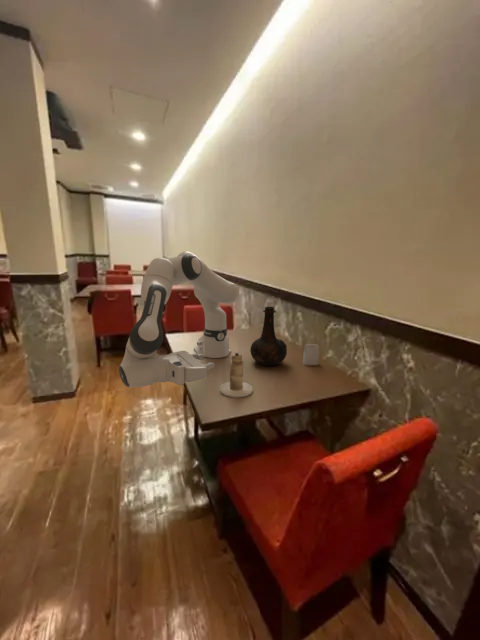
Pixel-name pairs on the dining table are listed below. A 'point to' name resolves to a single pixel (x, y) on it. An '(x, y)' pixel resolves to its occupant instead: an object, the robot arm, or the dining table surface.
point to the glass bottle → (268, 343)
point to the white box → (311, 354)
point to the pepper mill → (236, 372)
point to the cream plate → (241, 393)
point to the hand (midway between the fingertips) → (207, 360)
